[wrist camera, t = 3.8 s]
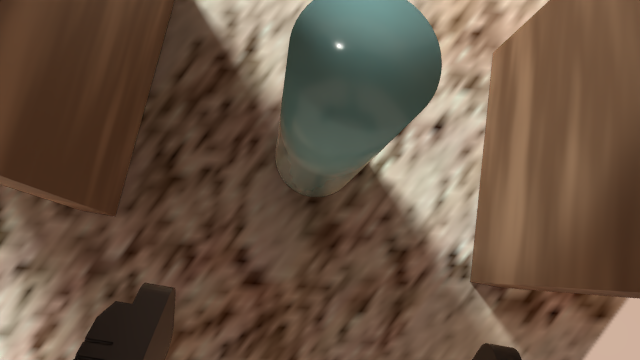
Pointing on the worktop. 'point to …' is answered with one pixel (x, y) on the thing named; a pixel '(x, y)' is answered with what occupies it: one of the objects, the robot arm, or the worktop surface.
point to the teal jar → (351, 88)
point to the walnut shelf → (499, 144)
